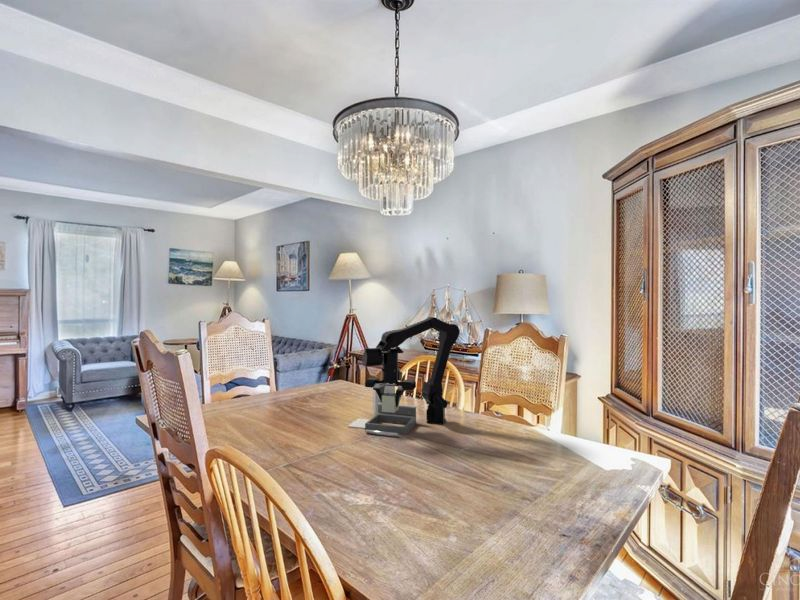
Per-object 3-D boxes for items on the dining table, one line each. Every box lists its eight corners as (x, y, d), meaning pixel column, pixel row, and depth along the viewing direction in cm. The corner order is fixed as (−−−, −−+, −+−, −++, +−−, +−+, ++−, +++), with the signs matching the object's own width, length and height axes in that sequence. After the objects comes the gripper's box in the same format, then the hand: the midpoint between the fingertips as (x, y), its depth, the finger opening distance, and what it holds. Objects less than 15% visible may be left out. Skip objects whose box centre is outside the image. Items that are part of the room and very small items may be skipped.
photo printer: (389, 408, 180) (390, 380, 180) (396, 410, 177) (396, 382, 177) (371, 413, 173) (372, 384, 173) (378, 415, 170) (378, 386, 170)
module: (398, 409, 157) (398, 392, 157) (394, 412, 152) (394, 395, 152) (386, 408, 158) (386, 391, 158) (381, 411, 154) (381, 394, 153)
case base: (414, 424, 159) (414, 416, 159) (405, 434, 147) (405, 426, 147) (377, 420, 164) (377, 413, 164) (365, 430, 152) (365, 422, 152)
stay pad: (374, 421, 163) (374, 420, 163) (364, 428, 153) (364, 427, 153) (358, 419, 165) (358, 418, 165) (347, 426, 155) (347, 425, 155)
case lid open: (416, 422, 160) (416, 406, 160) (415, 424, 159) (415, 407, 159) (378, 419, 165) (378, 402, 165) (376, 420, 164) (376, 403, 164)
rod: (398, 436, 145) (398, 432, 145) (397, 437, 144) (397, 433, 144) (367, 432, 149) (367, 428, 149) (365, 434, 147) (365, 430, 147)
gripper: (419, 363, 160) (419, 402, 160) (375, 360, 165) (375, 399, 166) (411, 367, 149) (411, 410, 149) (364, 365, 155) (364, 406, 155)
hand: (390, 406), depth 155 cm, fingers closed on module, 5 cm apart
